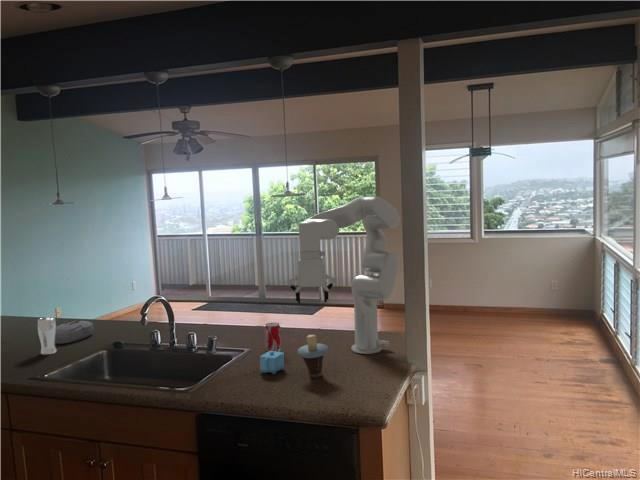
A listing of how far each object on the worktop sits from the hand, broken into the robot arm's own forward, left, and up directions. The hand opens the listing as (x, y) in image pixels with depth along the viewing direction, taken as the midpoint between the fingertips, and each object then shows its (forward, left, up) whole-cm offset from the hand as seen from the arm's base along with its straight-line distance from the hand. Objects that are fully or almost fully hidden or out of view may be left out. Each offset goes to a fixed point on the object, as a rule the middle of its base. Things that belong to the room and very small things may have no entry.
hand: (312, 302), depth 182 cm
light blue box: (+15, -4, -27) cm, 31 cm away
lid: (0, +4, -17) cm, 17 cm away
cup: (0, +4, -27) cm, 27 cm away
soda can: (+17, -26, -27) cm, 41 cm away
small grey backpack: (+116, -55, -27) cm, 131 cm away
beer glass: (+115, -34, -26) cm, 123 cm away
